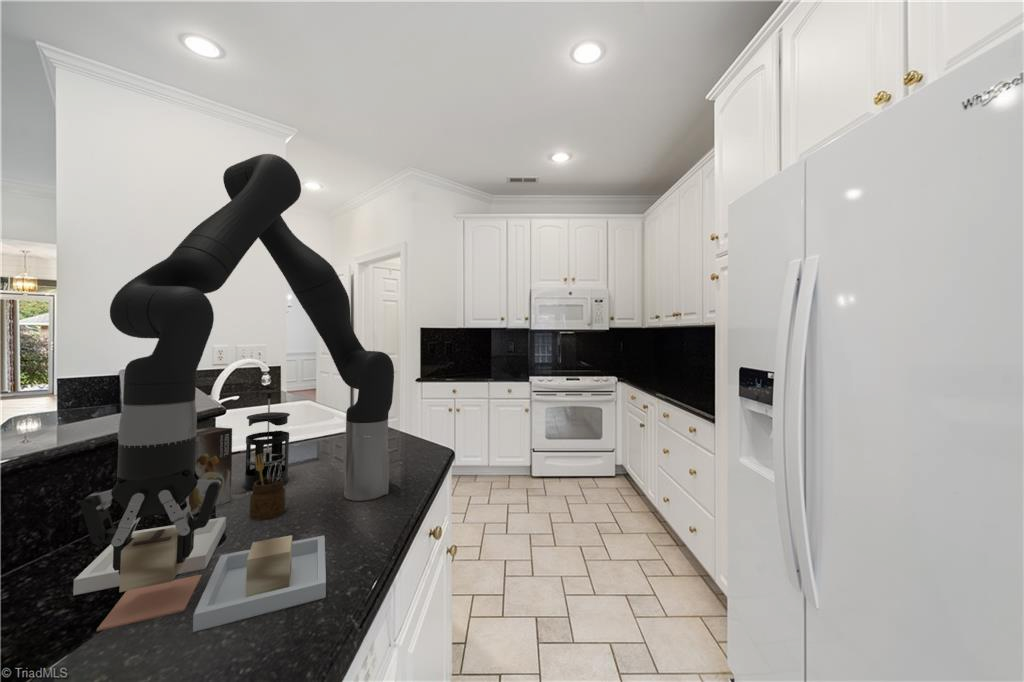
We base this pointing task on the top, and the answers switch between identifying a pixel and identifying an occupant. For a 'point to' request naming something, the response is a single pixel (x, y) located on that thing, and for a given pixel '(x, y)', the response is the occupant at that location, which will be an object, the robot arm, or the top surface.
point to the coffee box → (212, 463)
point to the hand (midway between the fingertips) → (154, 565)
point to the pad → (151, 602)
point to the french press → (276, 442)
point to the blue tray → (231, 604)
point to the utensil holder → (267, 495)
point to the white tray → (204, 538)
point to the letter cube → (149, 559)
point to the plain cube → (269, 565)
